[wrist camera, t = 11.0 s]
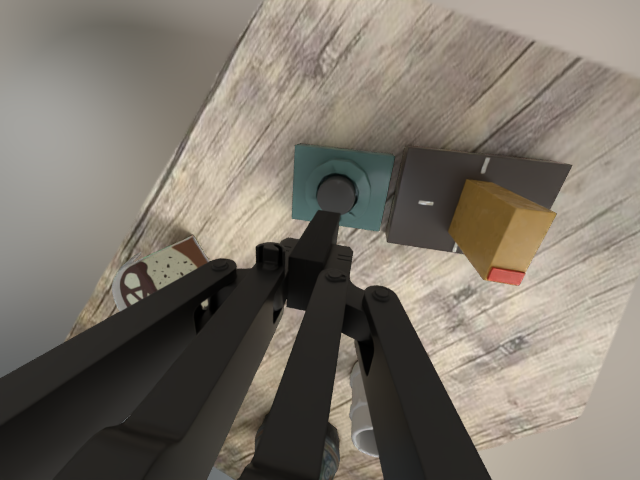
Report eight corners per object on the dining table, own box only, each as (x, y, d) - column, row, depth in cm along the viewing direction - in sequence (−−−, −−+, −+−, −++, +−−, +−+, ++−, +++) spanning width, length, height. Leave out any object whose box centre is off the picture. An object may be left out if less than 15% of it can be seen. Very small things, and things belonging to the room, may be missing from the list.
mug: (344, 357, 40) (336, 444, 29) (423, 350, 37) (447, 445, 26) (356, 390, 42) (353, 480, 32) (431, 386, 39) (455, 485, 29)
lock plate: (554, 161, 24) (574, 165, 22) (510, 252, 29) (523, 264, 26) (405, 144, 26) (409, 147, 23) (385, 233, 30) (386, 243, 28)
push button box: (393, 153, 26) (397, 158, 23) (378, 224, 30) (379, 238, 26) (299, 143, 27) (289, 146, 24) (296, 212, 31) (287, 224, 27)
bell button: (358, 177, 24) (357, 181, 23) (352, 212, 26) (351, 218, 24) (321, 173, 25) (318, 176, 23) (318, 208, 26) (315, 213, 25)
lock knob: (466, 178, 24) (518, 208, 16) (492, 182, 24) (560, 214, 15) (447, 231, 26) (484, 282, 18) (471, 235, 26) (520, 288, 18)
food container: (155, 237, 36) (85, 275, 27) (187, 225, 34) (124, 261, 26) (200, 304, 40) (152, 356, 31) (231, 297, 39) (189, 349, 30)
